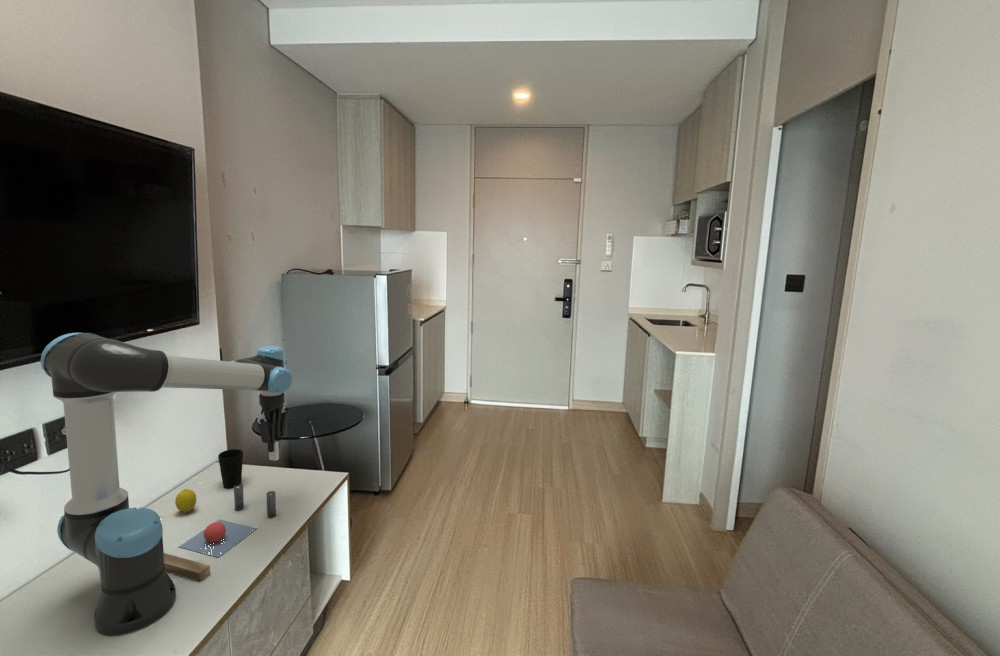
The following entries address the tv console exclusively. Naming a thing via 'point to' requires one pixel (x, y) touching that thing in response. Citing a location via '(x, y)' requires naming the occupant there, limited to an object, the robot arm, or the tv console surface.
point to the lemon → (185, 500)
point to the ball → (214, 532)
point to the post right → (271, 504)
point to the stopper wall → (186, 567)
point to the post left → (238, 497)
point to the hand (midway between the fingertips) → (274, 459)
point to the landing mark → (230, 538)
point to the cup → (231, 467)
